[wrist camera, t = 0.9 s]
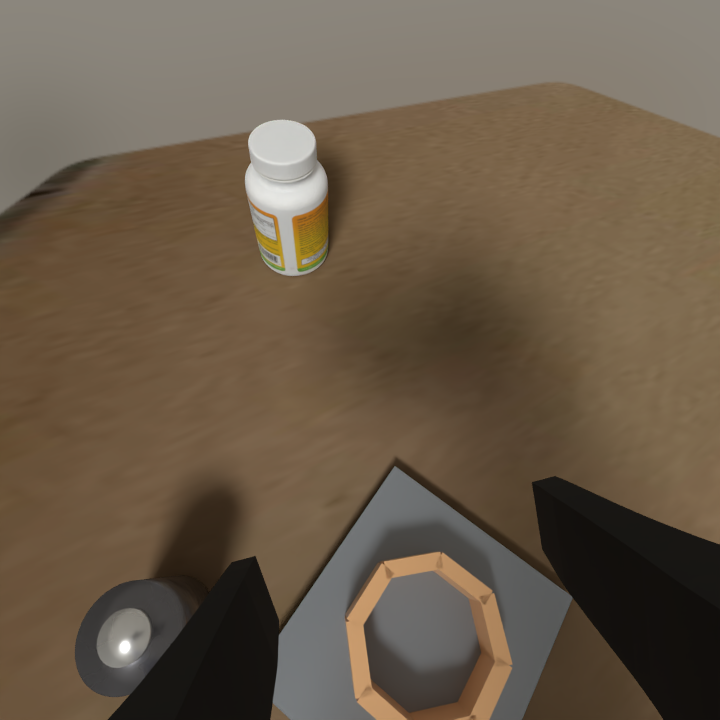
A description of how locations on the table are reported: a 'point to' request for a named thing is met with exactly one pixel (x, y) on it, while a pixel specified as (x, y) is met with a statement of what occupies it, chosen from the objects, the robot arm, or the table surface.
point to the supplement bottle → (288, 197)
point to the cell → (133, 631)
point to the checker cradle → (418, 620)
